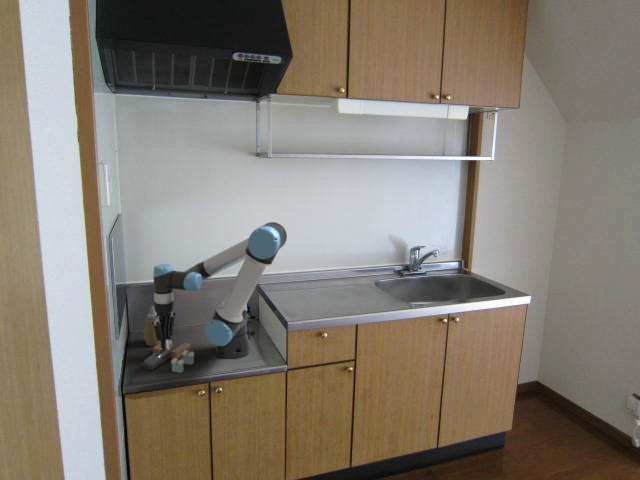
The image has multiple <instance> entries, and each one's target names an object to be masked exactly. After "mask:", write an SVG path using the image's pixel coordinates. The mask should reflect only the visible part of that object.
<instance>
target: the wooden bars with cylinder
mask: <svg viewBox="0 0 640 480" xmlns="http://www.w3.org/2000/svg"><path fill="white" fill-rule="evenodd" d="M172 349H173V340H171V339H169V351H170V350H171V351H170V356H171V361H172V360H173V359H174V358H177V359H178V361H179V360H181V359H183V356H182V353H183V352H184V351H186V350H187V351H188V352H189V353H190V352H191V343H186V342H184V343H182V344H181V345H179V346H178V347H176V348H175V349H173V350H172ZM159 350H161V342H160V344H159V345H156V346H153V348H152V355H153V354H155V353H156V352H158V351H159Z"/></svg>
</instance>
